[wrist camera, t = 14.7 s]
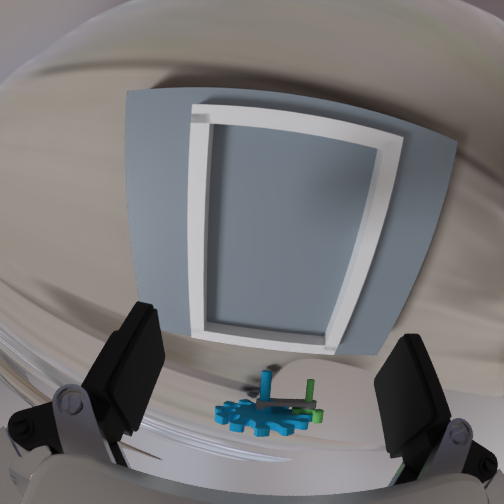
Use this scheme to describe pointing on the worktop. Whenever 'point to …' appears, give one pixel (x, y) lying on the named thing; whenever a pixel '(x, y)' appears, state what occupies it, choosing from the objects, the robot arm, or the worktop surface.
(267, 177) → the plate
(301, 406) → the blue cogwheel with peg
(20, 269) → the worktop surface
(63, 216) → the worktop surface
